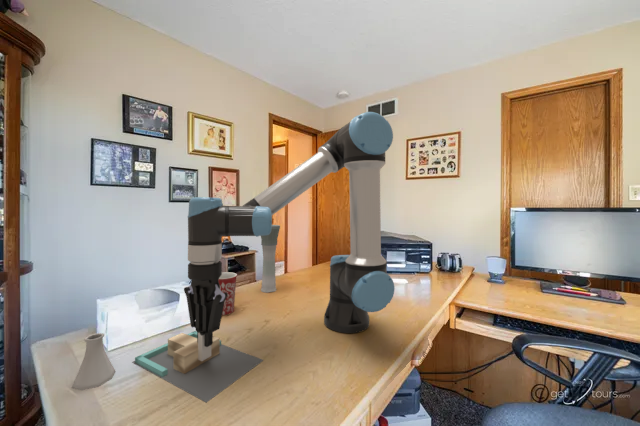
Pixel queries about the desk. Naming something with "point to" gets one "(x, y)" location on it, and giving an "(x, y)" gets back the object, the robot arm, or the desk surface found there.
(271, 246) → the container
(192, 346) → the tee block
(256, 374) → the desk surface
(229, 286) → the mug
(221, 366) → the mat
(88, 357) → the flask
